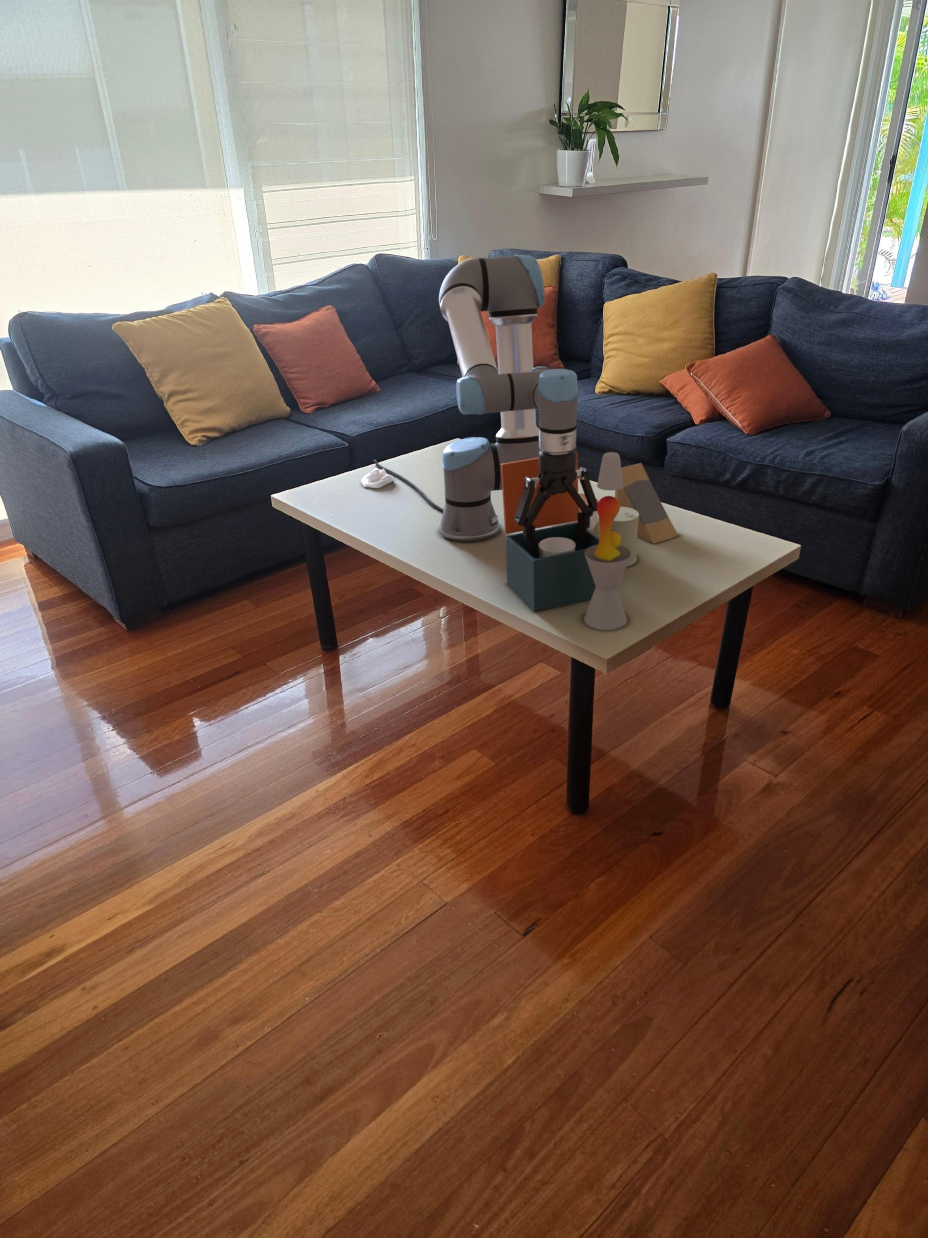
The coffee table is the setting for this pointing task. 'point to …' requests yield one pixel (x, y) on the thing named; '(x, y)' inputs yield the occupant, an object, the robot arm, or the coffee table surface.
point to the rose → (376, 479)
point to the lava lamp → (607, 554)
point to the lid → (553, 509)
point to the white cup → (555, 546)
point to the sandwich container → (644, 505)
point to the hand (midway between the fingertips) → (556, 547)
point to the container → (550, 569)
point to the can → (627, 530)
